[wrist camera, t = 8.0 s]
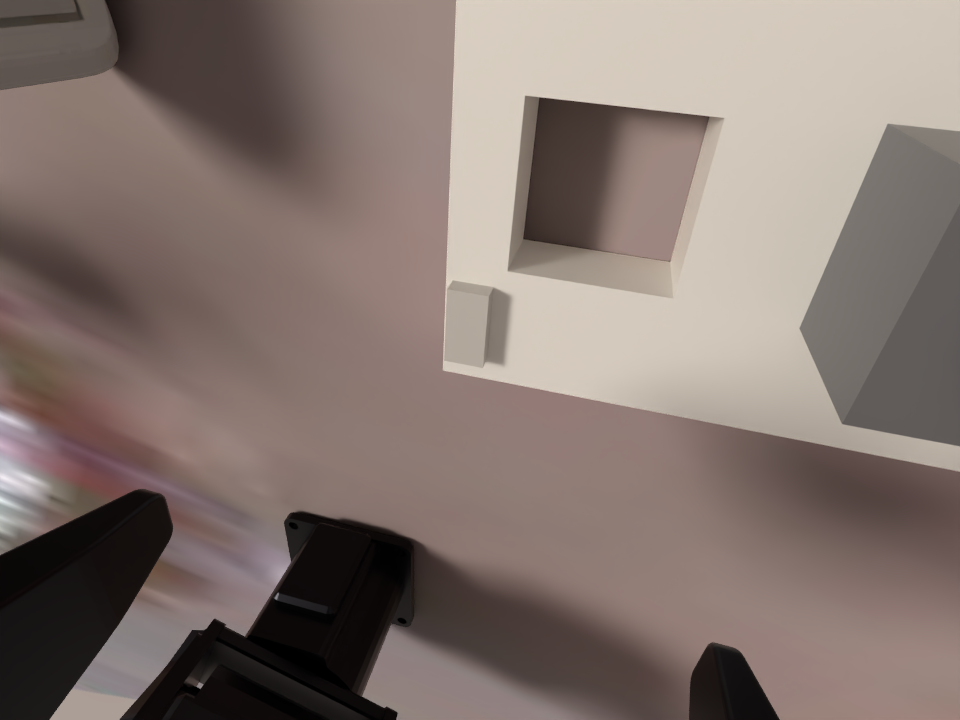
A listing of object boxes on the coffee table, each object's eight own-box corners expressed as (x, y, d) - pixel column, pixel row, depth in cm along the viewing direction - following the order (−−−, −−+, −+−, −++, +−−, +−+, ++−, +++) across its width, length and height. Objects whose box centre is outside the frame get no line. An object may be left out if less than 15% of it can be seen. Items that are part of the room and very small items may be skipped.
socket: (963, 423, 18) (1015, 495, 15) (463, 332, 20) (437, 380, 18) (1293, -54, 11) (1482, -66, 9) (488, -100, 14) (452, -119, 11)
